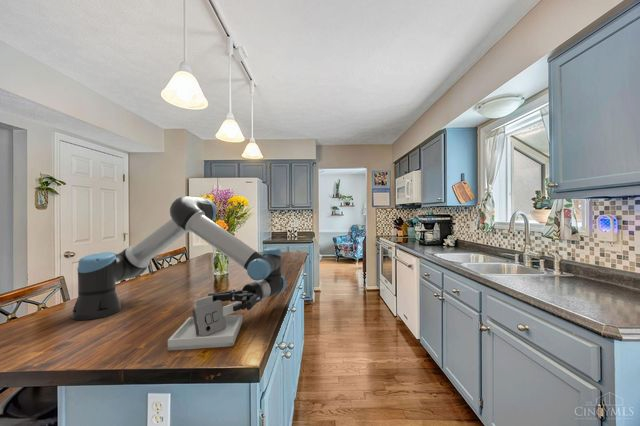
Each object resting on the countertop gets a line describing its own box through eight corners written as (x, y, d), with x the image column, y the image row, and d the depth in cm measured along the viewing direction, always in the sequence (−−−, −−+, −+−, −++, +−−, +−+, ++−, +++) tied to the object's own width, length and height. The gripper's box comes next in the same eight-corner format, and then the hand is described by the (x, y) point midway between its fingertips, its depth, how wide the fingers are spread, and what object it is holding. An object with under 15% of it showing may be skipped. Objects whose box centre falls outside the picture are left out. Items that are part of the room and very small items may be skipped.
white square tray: (189, 325, 97) (189, 317, 97) (242, 322, 99) (242, 314, 99) (167, 350, 79) (167, 340, 79) (233, 346, 81) (232, 335, 81)
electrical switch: (201, 339, 84) (199, 307, 84) (191, 336, 87) (189, 306, 87) (226, 328, 92) (224, 300, 92) (216, 326, 94) (215, 299, 95)
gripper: (281, 306, 100) (237, 327, 82) (233, 297, 113) (184, 313, 95) (281, 285, 101) (236, 302, 82) (232, 278, 113) (184, 291, 95)
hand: (208, 308), depth 88 cm, fingers open, 13 cm apart
